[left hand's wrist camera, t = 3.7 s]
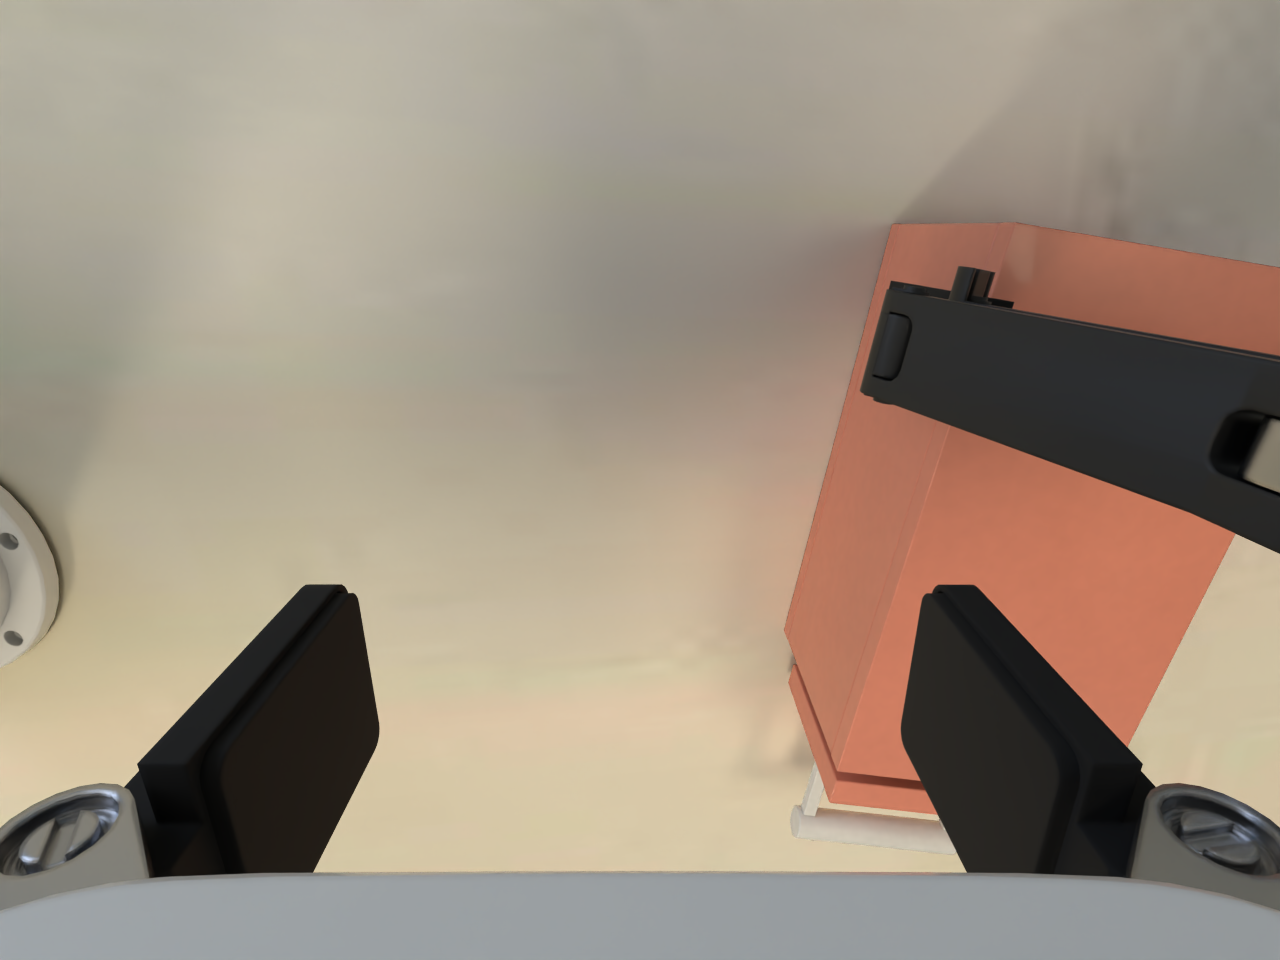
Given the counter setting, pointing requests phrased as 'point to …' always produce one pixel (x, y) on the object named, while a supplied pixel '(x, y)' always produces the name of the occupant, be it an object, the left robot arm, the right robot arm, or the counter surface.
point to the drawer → (860, 799)
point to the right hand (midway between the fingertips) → (1076, 351)
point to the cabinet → (1010, 498)
